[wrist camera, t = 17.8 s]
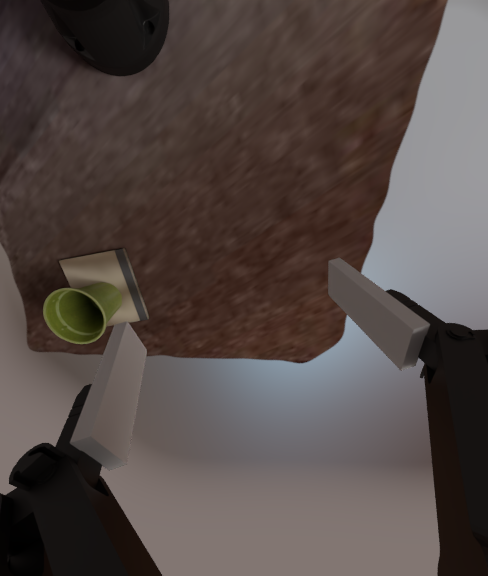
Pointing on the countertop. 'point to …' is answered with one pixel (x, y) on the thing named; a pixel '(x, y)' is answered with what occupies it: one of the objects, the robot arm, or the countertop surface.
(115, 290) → the plant pot
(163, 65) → the countertop surface
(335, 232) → the countertop surface
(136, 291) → the board
